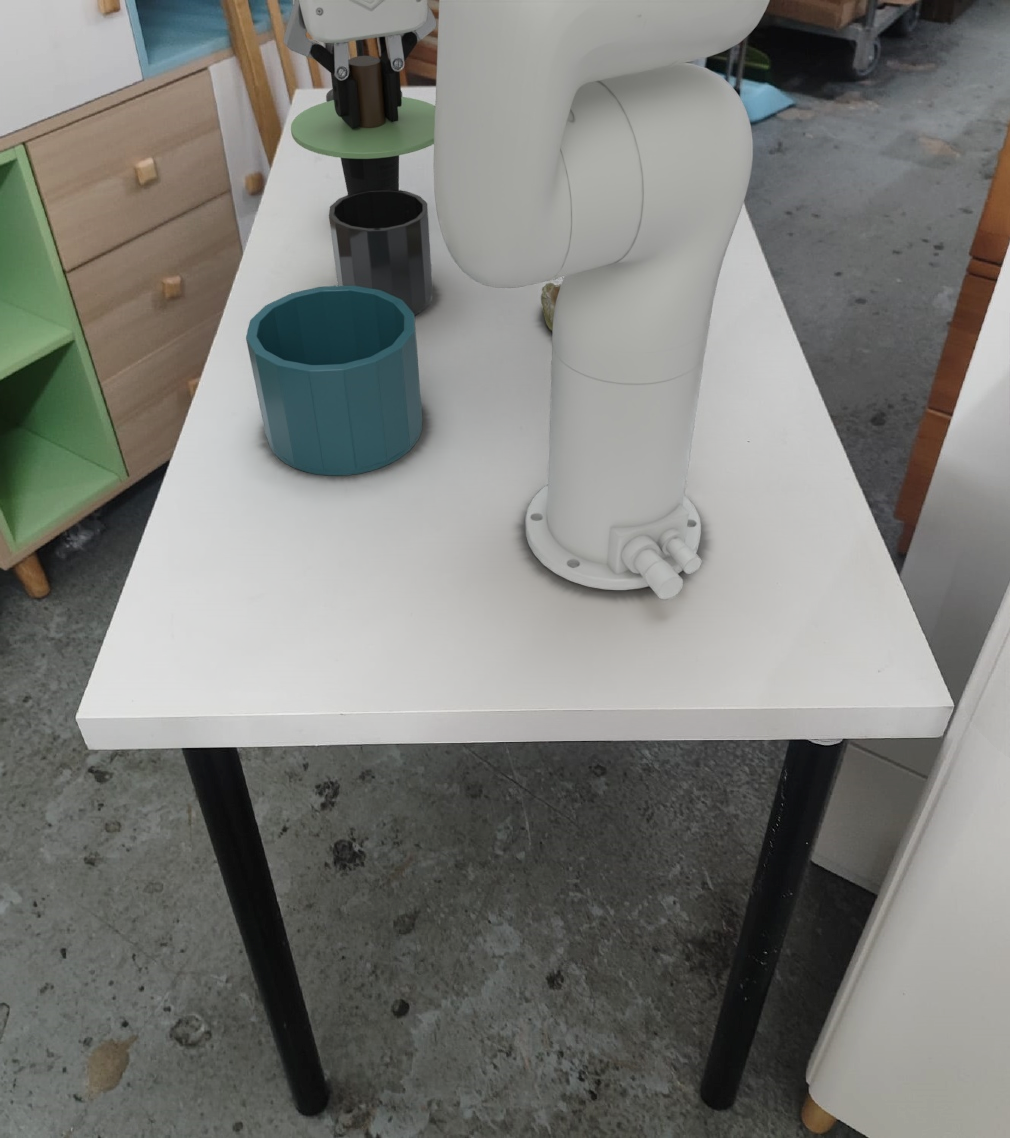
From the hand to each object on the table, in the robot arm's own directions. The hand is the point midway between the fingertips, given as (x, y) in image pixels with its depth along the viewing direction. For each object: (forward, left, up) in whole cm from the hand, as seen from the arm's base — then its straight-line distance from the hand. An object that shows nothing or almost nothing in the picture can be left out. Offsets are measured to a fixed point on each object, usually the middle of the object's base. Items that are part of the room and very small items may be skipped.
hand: (369, 117), depth 89 cm
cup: (0, 0, -17) cm, 17 cm away
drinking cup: (+16, -5, -17) cm, 24 cm away
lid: (0, 0, -1) cm, 1 cm away
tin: (-19, +11, -17) cm, 28 cm away
